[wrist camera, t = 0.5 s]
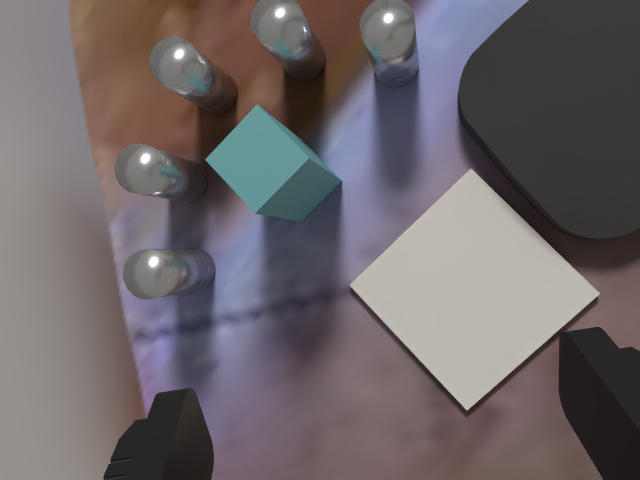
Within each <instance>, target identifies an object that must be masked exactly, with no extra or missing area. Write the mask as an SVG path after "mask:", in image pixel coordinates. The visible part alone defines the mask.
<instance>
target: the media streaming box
mask: <svg viewBox="0 0 640 480" xmlns="http://www.w3.org/2000/svg"><path fill="white" fill-rule="evenodd" d="M458 109H459V114H460V117H461V120H462V122H463V124H464V126H465V128H466V129H467V130H468V132H469V133H470V134H471V135H472V137H473V138H474V139H475V140H476V142H477V143H478V144H479V146H480V147H481V148H482V149H483V150H484V152H485V153H486V154H487V155H488V156H489V158H490V159H491V160H492V161H493V162H494V164H495V165H496V166H497V167H498V168H499V169H500V171H501V172H502V173H503V174H504V175H505V176H506V177H507V179H508V180H509V181H510V182H511V183H512V184H513V185H514V186H515V187H516V189H517V190H518V191H519V192H520V193H521V194H522V195H523V196H524V197H525V198H526V199H527V200H528V201H529V203H530V204H531V205H532V206H533V207H534V208H535V209H536V210H537V211H538V212H539V213H540V214H541V215H542V216H543V217H544V218H545V219H546V220H547V221H548V222H549V223H550V224H551V225H552V226H553V227H555V228H556V229H558V230H559V231H561V232H563V233H565V234H568V235H571V236H574V237H578V238H583V239H609V238H616V237H620V236H624V235H627V234H630V233H632V232H634V231H636V230H638V229H639V228H640V0H529V1H528V2H527V3H525V4H524V5H523V6H522V7H521V8H520V9H519V10H517V11H516V12H515V13H514V14H513V15H512V16H511V17H510V18H509V19H508V20H506V21H505V22H504V23H503V24H502V25H501V26H500V27H499V28H498V29H497V30H496V31H495V32H494V33H493V34H492V35H491V36H490V37H489V38H488V39H487V40H486V41H485V42H483V43H482V45H481V46H480V47H479V48H478V49H477V50H476V51H475V52H474V53H473V54H472V55H471V57H470V58H469V60H468V61H467V63H466V65H465V67H464V69H463V72H462V75H461V79H460V84H459V91H458Z"/></svg>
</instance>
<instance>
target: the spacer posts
mask: <svg viewBox="0 0 640 480" xmlns="http://www.w3.org/2000/svg"><path fill="white" fill-rule="evenodd" d="M251 27H252V31H253V33H254V34H255V36H256V37H257V38H258V40H259V41H260V42H261V43H262V44H263V45H264V47H265V48H266V49H267V50H268V51H269V52H270V54H271V55H272V56H273V57H274V58H275V59H276V60H277V62H278V63H279V64H280V65H281V66H282V67H283V69H284V70H285V71H286V72H287V73H288V74H289V76H291V77H292V78H293V79H296V80H299V81H307V80H311V79H313V78H315V77H316V76H317V75H318V74H319V73H320V72H321V71H322V69H323V67H324V64H325V52H324V49H323V47H322V45H321V44H320V42H319V40H318V38H317V37H316V35H315V33H314V31H313V30H312V28H311V26H310V24H309V23H308V21H307V19H306V18H305V16H304V14H303V12H302V11H301V9H300V7H299V5H298V4H297V2H296V1H295V0H260V1H259V2H258V3H257V4H256V6H255V7H254V9H253V12H252V15H251ZM360 32H361V36H362V38H363V41H364V44H365V47H366V50H367V52H368V55H369V58H370V61H371V64H372V66H373V69H374V72H375V75H376V77H377V78H378V80H379V81H380V82H381V83H382V84H384V85H386V86H389V87H402V86H404V85H406V84H408V83H409V82H410V81H412V80H413V78H414V77H415V76H416V74H417V71H418V67H419V59H418V49H417V39H416V29H415V19H414V14H413V12H412V10H411V8H410V7H409V5H408V4H407V3H405V2H404V1H403V0H376V1H374V2H373V3H371V4H370V5H369V6H368V7H367V8H366V10H365V11H364V13H363V15H362V17H361V21H360ZM149 66H150V71H151V74H152V76H153V77H154V79H155V80H156V81H157V82H158V83H160V84H162V85H163V86H165V87H167V88H168V89H170V90H172V91H173V92H175V93H177V94H179V95H180V96H182V97H184V98H185V99H187V100H189V101H190V102H192V103H194V104H195V105H197V106H199V107H201V108H202V109H204V110H206V111H207V112H209V113H212V114H222V113H224V112H226V111H228V110H229V109H230V108H231V107H232V106H233V105H234V103H235V101H236V99H237V86H236V83H235V81H234V80H233V79H232V78H231V77H230V76H229V75H228V74H227V73H225V72H224V71H223V70H222V69H221V68H219V67H218V66H217V65H216V64H215V63H213V62H212V61H211V60H210V59H209V58H207V57H206V56H205V55H204V54H202V53H201V52H200V51H199V50H198V49H196V48H195V47H194V46H193V45H192V44H190V43H189V42H188V41H187V40H185V39H183V38H181V37H176V36H172V37H167V38H165V39H163V40H161V41H160V42H159V43H158V44H157V45H156V46H155V47H154V49H153V50H152V53H151V55H150V60H149ZM115 173H116V178H117V180H118V182H119V184H120V185H121V186H122V187H123V188H124V189H125V190H127V191H129V192H131V193H136V194H142V195H147V196H153V197H159V198H164V199H170V200H175V201H181V202H194V201H196V200H198V199H199V198H201V197H202V196H203V194H204V193H205V191H206V189H207V185H208V178H207V174H206V172H205V170H204V168H203V167H202V166H201V165H199V164H198V163H196V162H193V161H190V160H187V159H184V158H181V157H179V156H176V155H173V154H170V153H167V152H164V151H161V150H159V149H156V148H153V147H150V146H147V145H144V144H133V145H130V146H128V147H126V148H125V149H124V150H123V151H122V152H121V153H120V155H119V156H118V158H117V161H116V165H115ZM214 275H215V264H214V261H213V259H212V258H211V256H210V255H209V254H208V253H206V252H205V251H203V250H200V249H144V250H139V251H137V252H135V253H134V254H132V255H131V256H130V257H129V258H128V260H127V262H126V264H125V266H124V272H123V277H124V282H125V285H126V287H127V289H128V290H129V291H130V292H131V294H133V295H134V296H136V297H138V298H140V299H153V298H159V297H164V296H170V295H175V294H181V293H187V292H192V291H198V290H202V289H204V288H206V287H207V286H209V285H210V283H211V282H212V280H213V278H214Z"/></svg>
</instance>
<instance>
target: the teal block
mask: <svg viewBox="0 0 640 480" xmlns="http://www.w3.org/2000/svg"><path fill="white" fill-rule="evenodd" d="M205 160H206V161H207V162H208V163H209V164H210V165H211V167H212V168H213V169H214V170H215V171H216V172H217V173H218V174H219V175H220V176H221V177H222V178H223V179H224V181H225V182H226V183H227V184H228V185H229V186H230V187H231V188H232V189H233V190H234V191H235V192H236V193H237V195H238V196H239V197H240V198H241V199H242V200H243V201H244V202H245V203H246V204H247V205H248V206H249V207H250V209H251V210H252V211H253V212H254V213H256V214H261V215H267V216H272V217H277V218H283V219H288V220H293V221H299V222H302V221H303V220H304V219H305V218H306V217H307V216H308V215H309V214H310V213H311V212H312V211H313V210H314V209H315V208H316V207H317V206H318V205H319V204H320V203H321V202H322V201H323V200H324V199H325V198H326V197H327V196H328V195H329V194H330V193H331V192H332V191H333V190H334V189H335V188H336V187H337V186H338V185H339V184H340V183H341V182H342V180H341V179H340V178H339V177H338V176H337V175H336V174H335V173H334V172H333V171H332V170H331V169H330V168H329V167H328V166H327V165H326V164H325V163H324V162H323V161H322V160H321V159H320V158H319V157H318V156H317V155H316V154H315V153H314V152H313V151H312V150H311V149H310V148H309V146H308V145H307V144H306V143H305V142H304V141H303V140H301V139H300V138H299V137H298V136H296V135H295V134H294V133H293V132H291V131H290V130H289V129H287V128H286V127H285V126H284V125H282V124H281V123H280V122H279V121H277V120H276V119H275V118H274V117H272V116H271V115H270V114H268V113H267V112H266V111H265V110H263V109H262V108H261V107H260V106H258V105H256V106H255V107H254V108H253V109H252V111H251V112H250V113H249V114H248V115H247V116H246V117H245V118H244V119H243V120H242V121H241V122H240V123H239V124H238V125H237V126H236V127H235V129H234V130H233V131H232V132H231V133H230V134H229V135H228V136H227V137H226V138H225V139H224V140H223V141H222V142H221V143H220V144H219V145H218V147H217V148H216V149H215V150H214V151H213V152H212V153H211V154H210V155H209V156H208V157H207V158H206V159H205Z"/></svg>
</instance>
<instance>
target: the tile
mask: <svg viewBox="0 0 640 480" xmlns="http://www.w3.org/2000/svg"><path fill="white" fill-rule="evenodd" d="M350 287H351V288H352V289H353V290H354V291H355V292H356V293H357V294H358V295H359V296H360V297H361V298H362V299H363V300H364V301H365V303H366V304H367V305H368V306H369V307H370V308H371V309H372V310H373V311H374V312H375V313H376V314H377V315H378V316H379V317H380V319H381V320H382V321H383V322H384V323H385V324H386V325H387V326H388V327H389V328H390V329H391V330H392V331H393V332H394V333H395V334H396V336H397V337H398V338H399V339H400V340H401V341H402V342H403V343H404V344H405V345H406V346H407V347H408V348H409V349H410V350H411V352H412V353H413V354H414V355H415V356H416V357H417V358H418V359H419V360H420V361H421V362H422V363H423V364H424V365H425V366H426V368H427V369H428V370H429V371H430V372H431V373H432V374H433V375H434V376H435V377H436V378H437V379H438V380H439V381H440V382H441V383H442V385H443V386H444V387H445V388H446V389H447V390H448V391H449V392H450V393H451V394H452V395H453V396H454V397H455V398H456V399H457V401H458V402H459V403H460V404H461V405H462V406H463V407H464V408H465V409H466V410H468V409H470V408H471V407H472V406H473V405H474V404H475V403H476V402H477V401H479V400H480V399H481V398H482V397H483V396H484V395H485V394H487V393H488V392H489V391H490V390H491V389H492V388H493V387H495V386H496V385H497V384H498V383H499V382H500V381H501V380H503V379H504V378H505V377H506V376H507V375H508V374H509V373H510V372H512V371H513V370H514V369H515V368H516V367H517V366H518V365H520V364H521V363H522V362H523V361H524V360H525V359H526V358H528V357H529V356H530V355H531V354H532V353H533V352H534V351H536V350H537V349H538V348H539V347H540V346H541V345H542V344H544V343H545V342H546V341H547V340H548V339H549V338H550V337H551V336H553V335H554V334H555V333H556V332H557V331H558V330H559V329H561V328H562V327H563V326H564V325H565V324H566V323H567V322H569V321H570V320H571V319H572V318H573V317H574V316H575V315H577V314H578V313H579V312H580V311H581V310H582V309H583V308H584V307H586V306H587V305H588V304H589V303H590V302H591V301H592V300H594V299H595V298H596V297H597V296H598V295H599V294H600V293H599V292H598V291H597V290H596V289H595V288H594V287H593V286H592V285H590V284H589V283H588V282H587V281H586V280H585V279H584V278H583V277H582V276H581V275H580V274H579V273H578V272H577V271H576V270H575V269H574V268H573V267H572V266H571V265H570V264H569V263H568V262H567V261H566V260H565V259H564V258H563V257H562V256H561V255H560V254H559V253H558V252H557V251H555V250H554V249H553V248H552V247H551V246H550V245H549V244H548V243H547V242H546V241H545V240H544V239H543V238H542V237H541V236H540V235H539V234H538V233H537V232H536V231H535V230H534V229H533V228H532V227H531V226H530V225H529V224H528V223H527V222H526V221H525V220H524V219H523V218H522V217H520V216H519V215H518V214H517V213H516V212H515V211H514V210H513V209H512V208H511V207H510V206H509V205H508V204H507V203H506V202H505V201H504V200H503V199H502V198H501V197H500V196H499V195H498V194H497V193H496V192H495V191H494V190H493V189H492V188H491V187H490V186H489V185H488V184H487V183H485V182H484V181H483V180H482V179H481V178H480V177H479V176H478V175H477V174H476V173H475V172H474V171H473V170H472V169H470V170H469V171H468V172H467V173H466V174H465V175H464V176H463V177H462V178H461V179H460V180H459V181H457V182H456V183H455V184H454V185H453V186H452V187H451V188H450V189H449V190H448V191H447V192H446V193H445V194H444V195H443V196H442V197H441V198H440V199H439V200H438V201H437V202H436V203H435V204H434V205H432V206H431V207H430V208H429V209H428V210H427V211H426V212H425V213H424V214H423V215H422V216H421V217H420V218H419V219H418V220H417V221H416V222H415V223H414V224H413V225H412V226H411V227H410V228H408V229H407V230H406V231H405V232H404V233H403V234H402V235H401V236H400V237H399V238H398V239H397V240H396V241H395V242H394V243H393V244H392V245H391V246H390V247H389V248H388V249H387V250H386V251H385V252H383V253H382V254H381V255H380V256H379V257H378V258H377V259H376V260H375V261H374V262H373V263H372V264H371V265H370V266H369V267H368V268H367V269H366V270H365V271H364V272H363V273H362V274H361V275H360V276H358V277H357V278H356V279H355V280H354V281H353V282H352V283H351V284H350Z"/></svg>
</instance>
